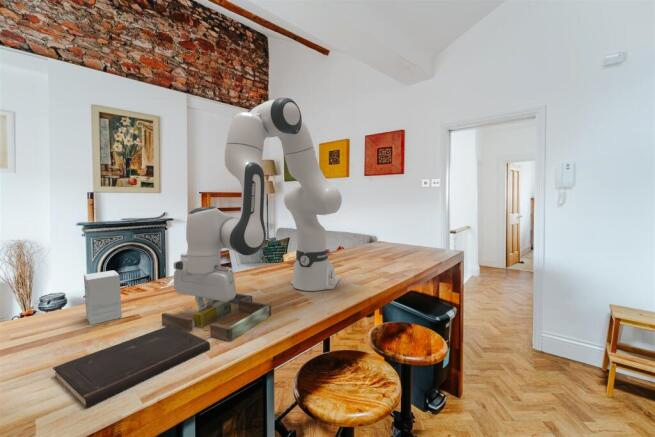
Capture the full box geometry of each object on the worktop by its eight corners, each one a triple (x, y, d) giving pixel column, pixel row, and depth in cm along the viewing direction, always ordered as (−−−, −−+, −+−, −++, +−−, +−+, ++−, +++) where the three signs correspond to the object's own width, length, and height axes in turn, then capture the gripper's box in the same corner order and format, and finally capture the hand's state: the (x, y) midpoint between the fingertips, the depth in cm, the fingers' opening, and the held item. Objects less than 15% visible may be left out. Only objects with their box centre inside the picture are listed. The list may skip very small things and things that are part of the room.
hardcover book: (53, 378, 57) (52, 367, 57) (171, 333, 76) (171, 324, 76) (86, 412, 48) (85, 398, 48) (210, 351, 68) (210, 341, 67)
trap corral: (220, 299, 100) (220, 290, 100) (279, 309, 91) (279, 300, 91) (162, 324, 80) (161, 313, 80) (229, 341, 71) (229, 329, 71)
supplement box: (117, 310, 90) (115, 269, 89) (122, 318, 84) (120, 274, 83) (85, 317, 84) (83, 273, 83) (88, 325, 79) (86, 279, 78)
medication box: (224, 311, 90) (223, 298, 90) (231, 312, 89) (231, 299, 89) (193, 327, 79) (193, 312, 79) (201, 328, 78) (201, 313, 78)
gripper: (240, 265, 83) (241, 313, 84) (187, 258, 91) (188, 302, 92) (224, 270, 77) (225, 322, 78) (169, 262, 85) (170, 309, 86)
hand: (204, 311), depth 85 cm, fingers closed
